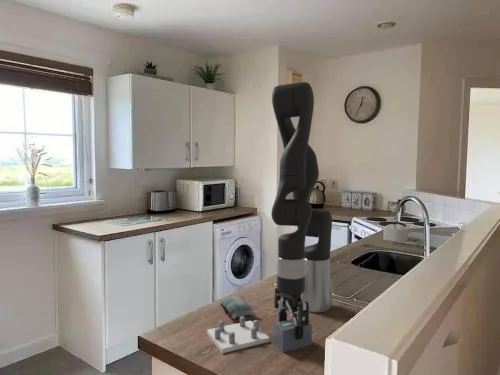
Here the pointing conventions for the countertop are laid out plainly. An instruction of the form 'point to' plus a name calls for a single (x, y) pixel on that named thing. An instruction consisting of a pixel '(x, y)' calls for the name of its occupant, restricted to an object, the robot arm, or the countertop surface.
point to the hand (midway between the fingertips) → (290, 332)
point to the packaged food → (237, 307)
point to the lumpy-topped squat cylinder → (395, 232)
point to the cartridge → (291, 336)
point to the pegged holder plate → (237, 335)
